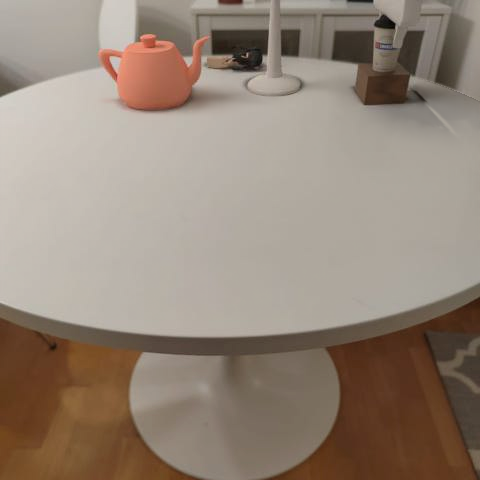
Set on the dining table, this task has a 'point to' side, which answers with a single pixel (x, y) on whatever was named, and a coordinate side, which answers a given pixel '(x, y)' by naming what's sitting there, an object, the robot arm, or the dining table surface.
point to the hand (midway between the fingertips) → (389, 41)
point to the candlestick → (274, 63)
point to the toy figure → (238, 59)
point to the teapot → (153, 73)
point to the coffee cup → (384, 45)
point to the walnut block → (381, 85)
